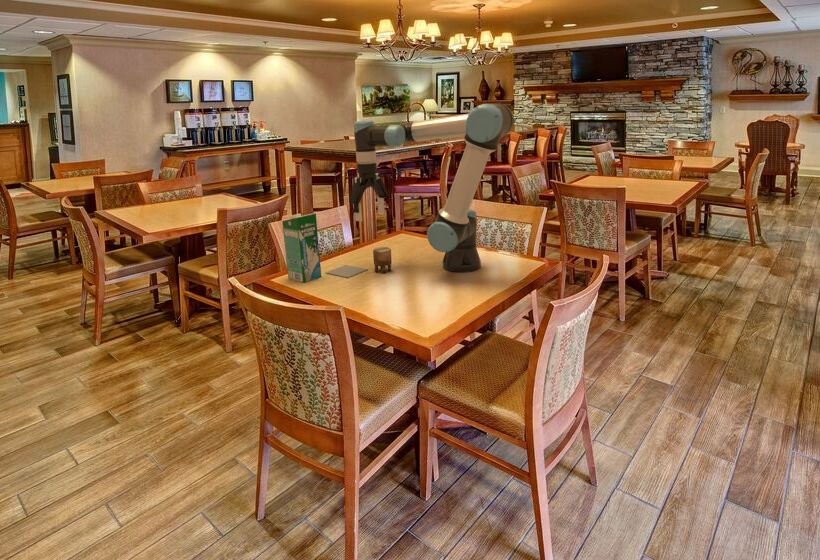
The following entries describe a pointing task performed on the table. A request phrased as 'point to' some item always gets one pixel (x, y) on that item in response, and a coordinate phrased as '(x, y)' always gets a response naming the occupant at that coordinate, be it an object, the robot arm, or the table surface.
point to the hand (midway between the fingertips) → (370, 217)
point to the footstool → (382, 258)
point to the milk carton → (302, 247)
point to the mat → (346, 271)
